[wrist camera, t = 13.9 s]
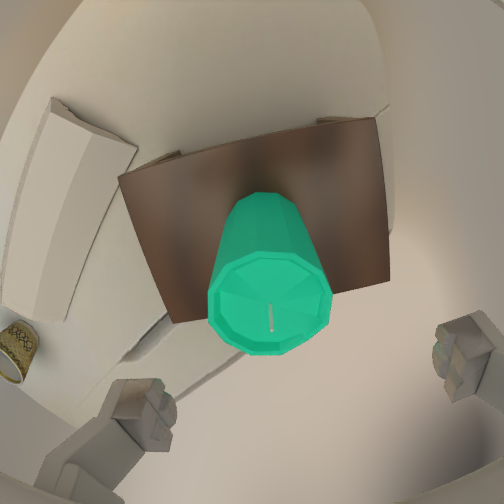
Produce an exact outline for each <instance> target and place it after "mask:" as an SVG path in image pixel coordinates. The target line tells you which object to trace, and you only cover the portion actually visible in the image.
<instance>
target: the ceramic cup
mask: <svg viewBox="0 0 504 504" xmlns="http://www.w3.org/2000/svg"><path fill="white" fill-rule="evenodd" d="M38 345H39V337H38V335H37V334H36V332H35V331H34V329H33V328H32V326H30V325H29V324H27V323H25V322H24V321H22V320H20V321H16V322H14V323H12V324H11V325H10V326H9V327H7V328H6V329H4V330H3V331H2V332H0V377H1V378H3V379H4V380H5V381H7V382H8V383H10V384H13V385H17V386H18V385H21V384H22V383H23V381H24V379H25V377H26V375H27V372H28V370H29V366H30V364H31V362H32V359H33V357H34V355H35V352H36V350H37V348H38Z"/></svg>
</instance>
